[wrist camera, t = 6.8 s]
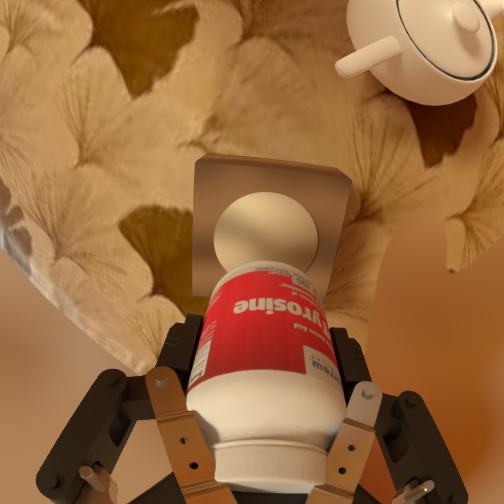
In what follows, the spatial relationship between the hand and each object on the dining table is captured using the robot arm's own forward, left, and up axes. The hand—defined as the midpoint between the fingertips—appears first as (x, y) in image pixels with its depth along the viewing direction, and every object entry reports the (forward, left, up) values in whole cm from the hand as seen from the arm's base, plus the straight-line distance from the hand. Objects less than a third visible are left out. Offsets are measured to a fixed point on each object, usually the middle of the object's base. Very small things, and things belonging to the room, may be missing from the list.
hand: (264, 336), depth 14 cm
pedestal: (0, 0, -16) cm, 16 cm away
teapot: (-21, +12, -17) cm, 29 cm away
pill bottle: (0, 0, -3) cm, 3 cm away
